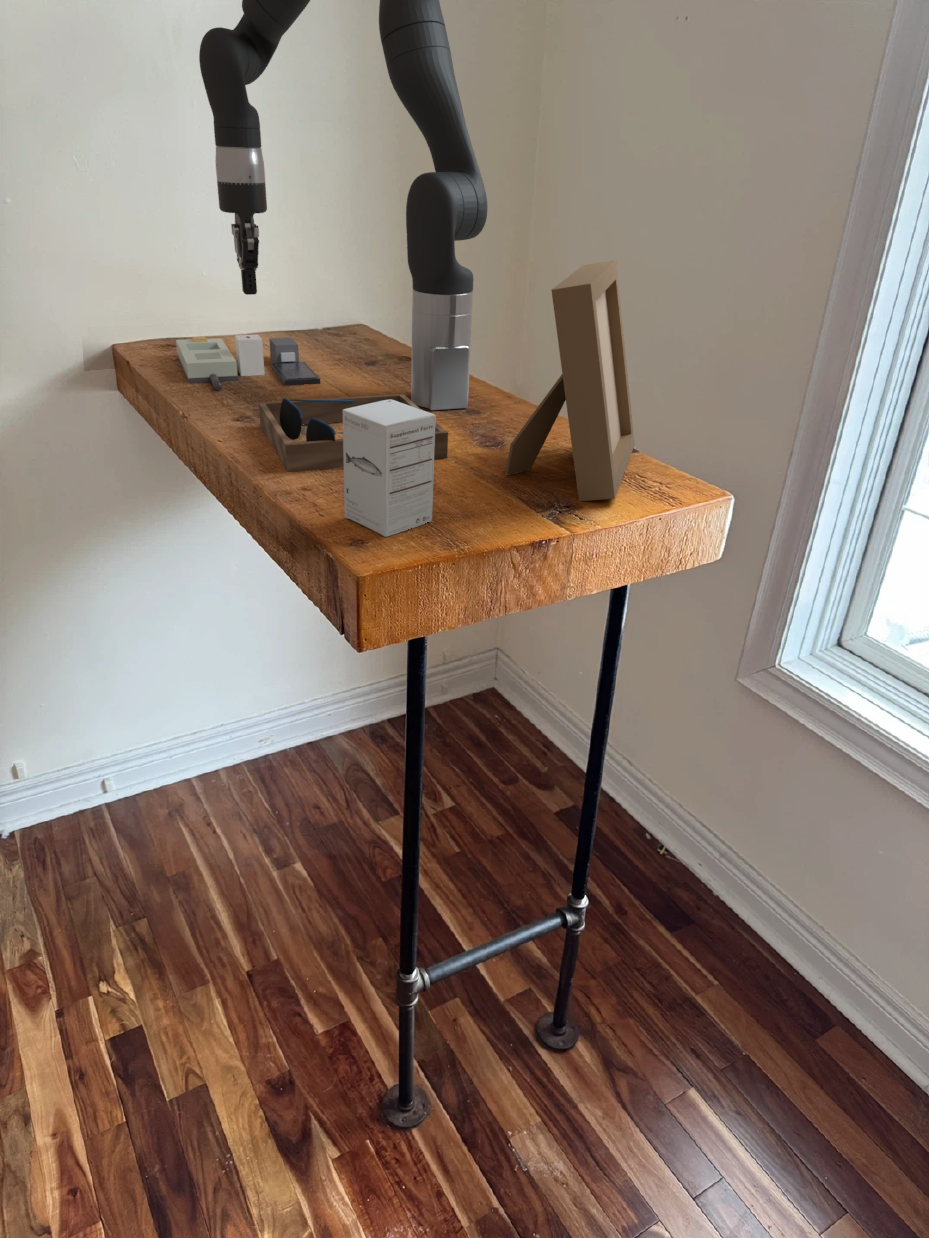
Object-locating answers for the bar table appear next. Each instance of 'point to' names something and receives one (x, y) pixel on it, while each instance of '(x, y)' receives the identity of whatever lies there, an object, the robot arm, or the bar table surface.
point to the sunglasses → (315, 428)
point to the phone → (295, 373)
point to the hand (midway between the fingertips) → (249, 293)
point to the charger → (249, 355)
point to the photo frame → (586, 385)
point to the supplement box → (388, 466)
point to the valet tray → (325, 451)
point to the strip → (206, 361)
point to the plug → (283, 350)
